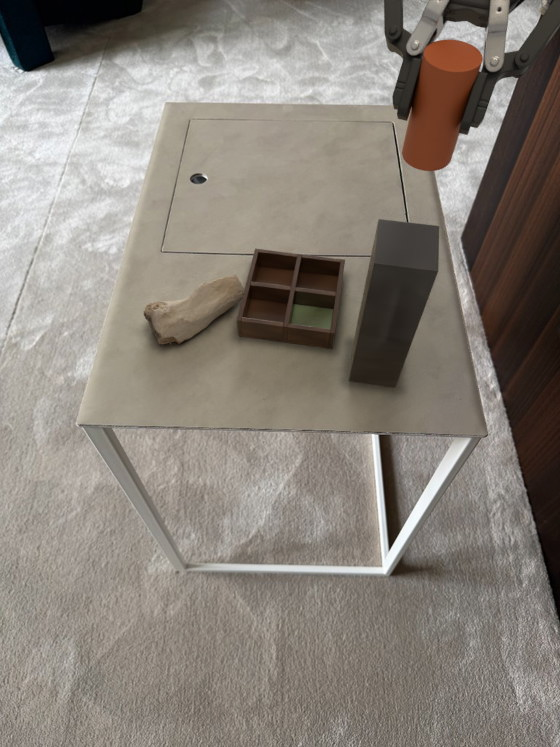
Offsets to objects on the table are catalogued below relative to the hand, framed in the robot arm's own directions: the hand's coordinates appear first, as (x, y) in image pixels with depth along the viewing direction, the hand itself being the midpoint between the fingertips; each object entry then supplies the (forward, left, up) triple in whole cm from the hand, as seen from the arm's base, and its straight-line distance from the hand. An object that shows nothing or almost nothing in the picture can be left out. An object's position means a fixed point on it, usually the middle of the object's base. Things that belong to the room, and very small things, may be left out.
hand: (433, 123), depth 40 cm
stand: (-1, -2, -36) cm, 36 cm away
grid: (+11, -10, -36) cm, 39 cm away
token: (0, -2, -4) cm, 5 cm away
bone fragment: (+24, -6, -36) cm, 44 cm away
